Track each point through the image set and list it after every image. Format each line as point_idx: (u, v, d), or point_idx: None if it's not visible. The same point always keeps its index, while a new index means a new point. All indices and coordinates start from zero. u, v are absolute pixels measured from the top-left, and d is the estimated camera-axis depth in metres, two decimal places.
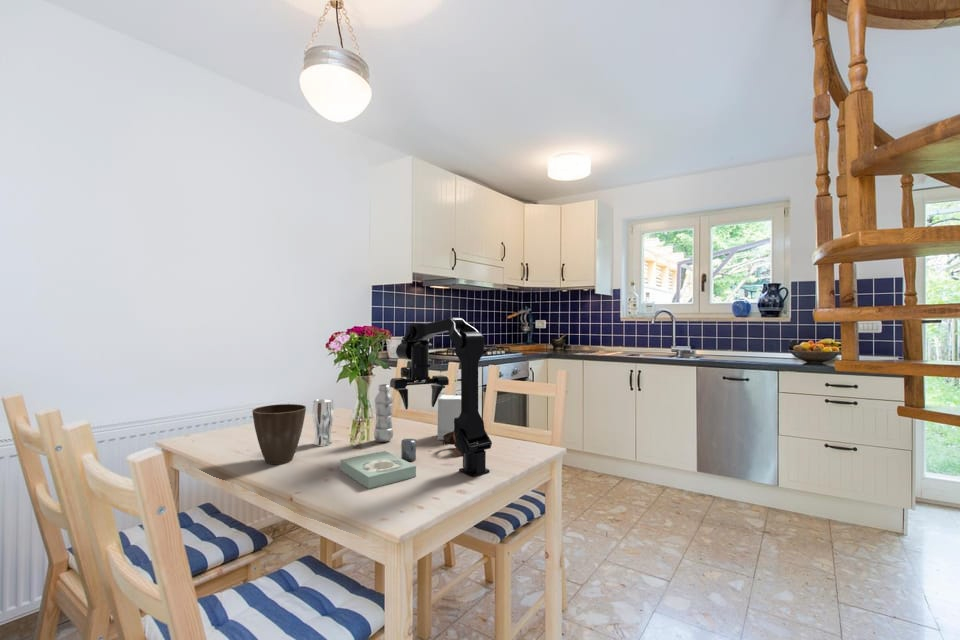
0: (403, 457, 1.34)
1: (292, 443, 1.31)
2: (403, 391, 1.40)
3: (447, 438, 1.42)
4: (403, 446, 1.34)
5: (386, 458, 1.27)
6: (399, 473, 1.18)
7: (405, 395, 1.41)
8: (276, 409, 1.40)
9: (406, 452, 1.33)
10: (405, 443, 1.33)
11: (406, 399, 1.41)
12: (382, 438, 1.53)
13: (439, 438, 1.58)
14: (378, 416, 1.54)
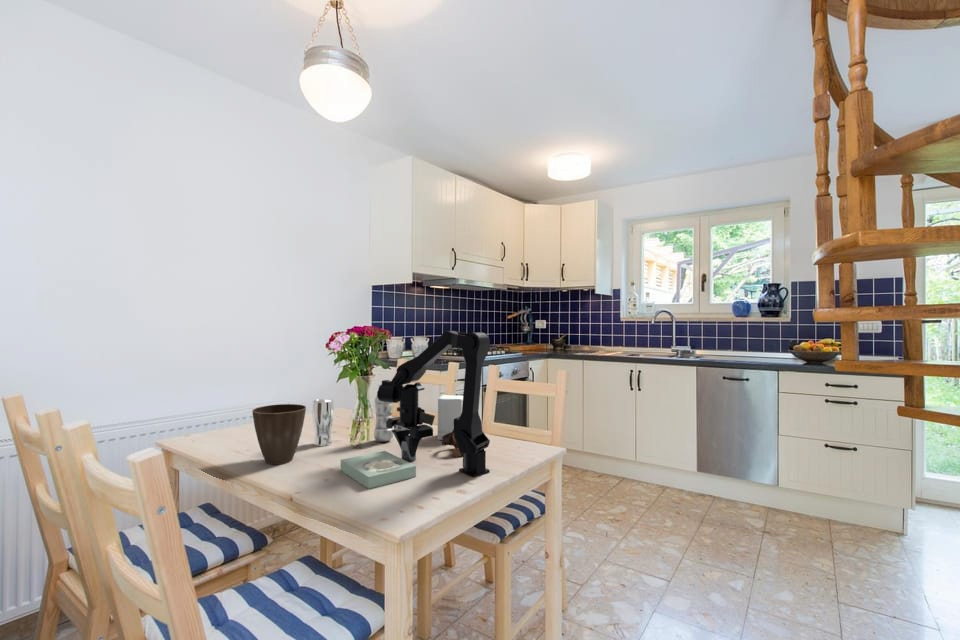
0: (403, 457, 1.34)
1: (292, 443, 1.31)
2: (393, 433, 1.37)
3: (446, 439, 1.42)
4: (403, 446, 1.34)
5: (386, 458, 1.27)
6: (399, 473, 1.18)
7: (396, 437, 1.37)
8: (276, 409, 1.40)
9: (406, 451, 1.33)
10: (405, 443, 1.33)
11: (398, 442, 1.37)
12: (382, 438, 1.53)
13: (439, 438, 1.58)
14: (378, 416, 1.54)
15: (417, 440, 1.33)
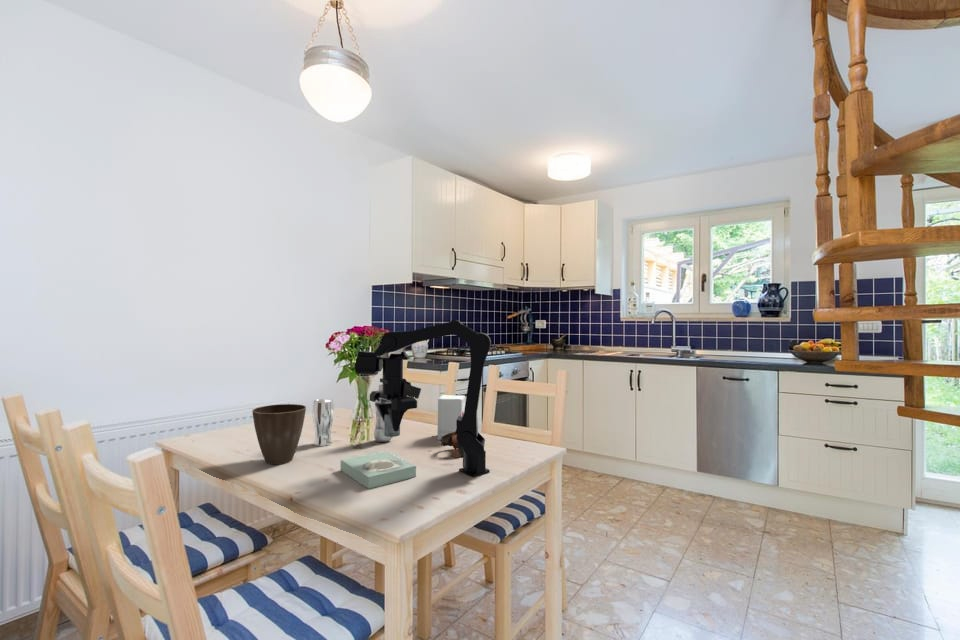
0: (386, 431, 1.25)
1: (292, 443, 1.31)
2: (376, 406, 1.28)
3: (446, 439, 1.41)
4: (386, 419, 1.25)
5: (386, 458, 1.27)
6: (399, 473, 1.18)
7: (379, 411, 1.28)
8: (276, 409, 1.40)
9: (388, 425, 1.24)
10: (388, 416, 1.24)
11: (381, 416, 1.28)
12: (382, 438, 1.53)
13: (439, 438, 1.58)
14: (378, 416, 1.54)
15: (401, 413, 1.24)
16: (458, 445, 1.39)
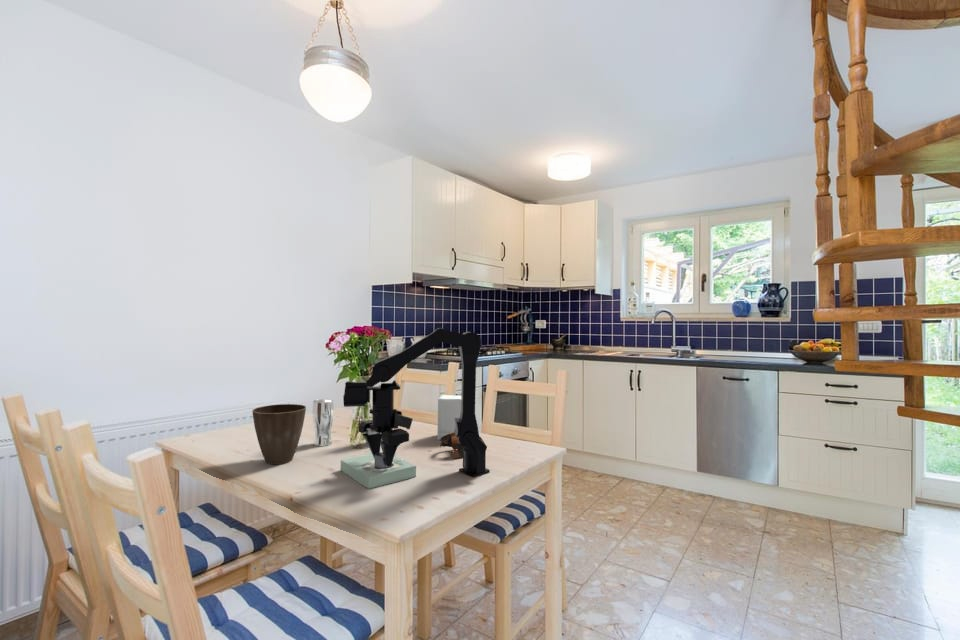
0: None
1: (292, 443, 1.31)
2: (364, 437, 1.24)
3: (445, 440, 1.40)
4: (376, 461, 1.19)
5: None
6: (399, 473, 1.18)
7: (367, 442, 1.23)
8: (276, 409, 1.40)
9: (379, 467, 1.19)
10: (378, 457, 1.19)
11: (369, 447, 1.23)
12: None
13: (439, 438, 1.58)
14: None
15: (394, 447, 1.18)
16: (457, 446, 1.38)
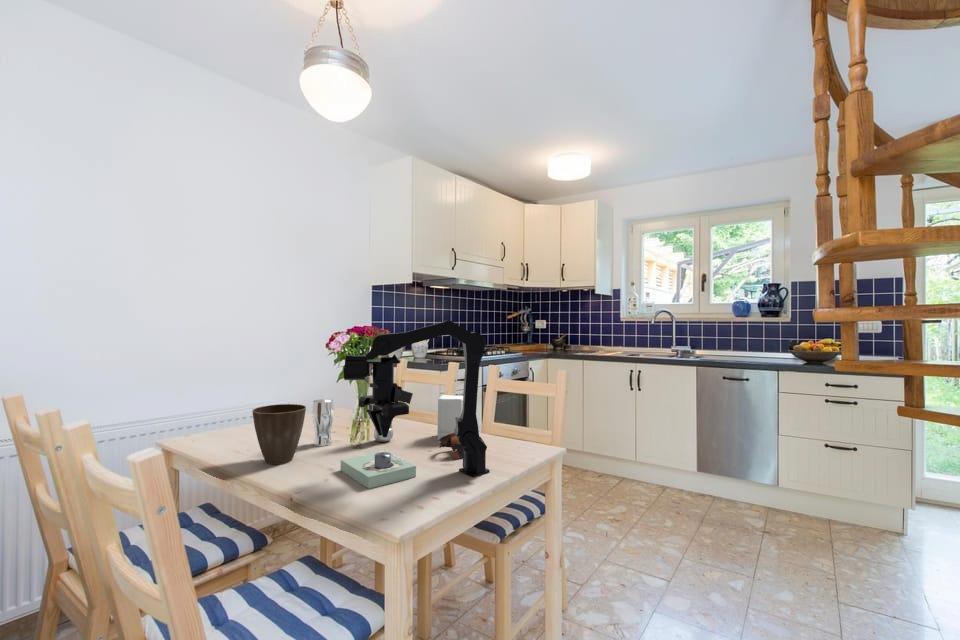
0: None
1: (292, 443, 1.31)
2: (368, 412, 1.22)
3: (444, 441, 1.39)
4: (376, 461, 1.19)
5: None
6: (399, 473, 1.18)
7: (371, 418, 1.21)
8: (276, 409, 1.40)
9: (379, 467, 1.19)
10: (378, 457, 1.19)
11: (373, 423, 1.21)
12: (382, 438, 1.53)
13: (439, 438, 1.58)
14: None
15: (389, 419, 1.20)
16: (457, 446, 1.37)
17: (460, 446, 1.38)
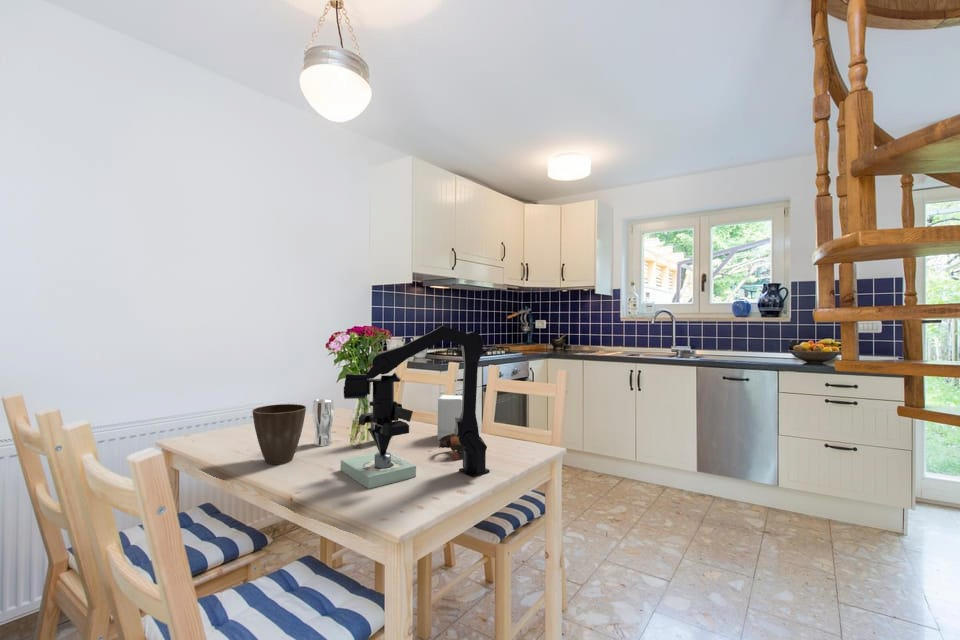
0: None
1: (292, 443, 1.31)
2: (370, 431, 1.21)
3: (444, 441, 1.38)
4: (376, 461, 1.19)
5: None
6: (399, 473, 1.18)
7: (373, 437, 1.21)
8: (276, 409, 1.40)
9: (379, 467, 1.19)
10: (378, 457, 1.19)
11: (375, 442, 1.21)
12: None
13: (439, 438, 1.58)
14: None
15: (388, 436, 1.20)
16: (457, 447, 1.37)
17: (460, 447, 1.37)
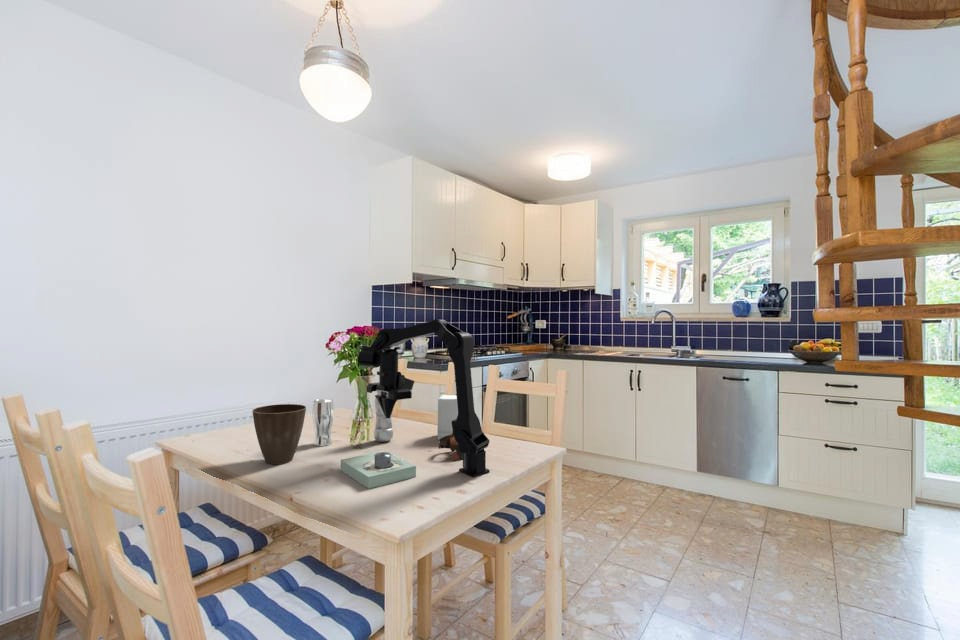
0: None
1: (292, 443, 1.31)
2: None
3: (443, 442, 1.38)
4: (376, 461, 1.19)
5: None
6: (399, 473, 1.18)
7: (379, 402, 1.38)
8: (276, 409, 1.40)
9: (379, 467, 1.19)
10: (378, 457, 1.19)
11: (381, 407, 1.38)
12: (382, 438, 1.53)
13: (439, 438, 1.58)
14: (378, 416, 1.54)
15: (393, 402, 1.37)
16: (456, 447, 1.36)
17: None
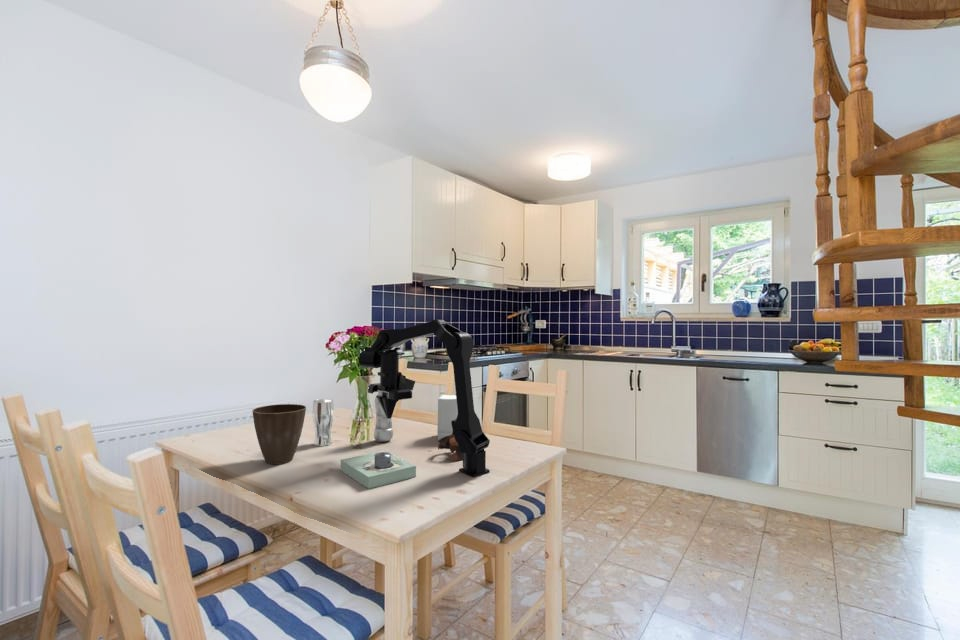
0: None
1: (292, 443, 1.31)
2: None
3: (443, 442, 1.37)
4: (376, 461, 1.19)
5: None
6: (399, 473, 1.18)
7: (380, 403, 1.39)
8: (276, 409, 1.40)
9: (379, 467, 1.19)
10: (378, 457, 1.19)
11: (382, 407, 1.38)
12: (382, 438, 1.53)
13: (439, 438, 1.58)
14: (378, 416, 1.54)
15: (393, 402, 1.38)
16: (456, 448, 1.35)
17: None
